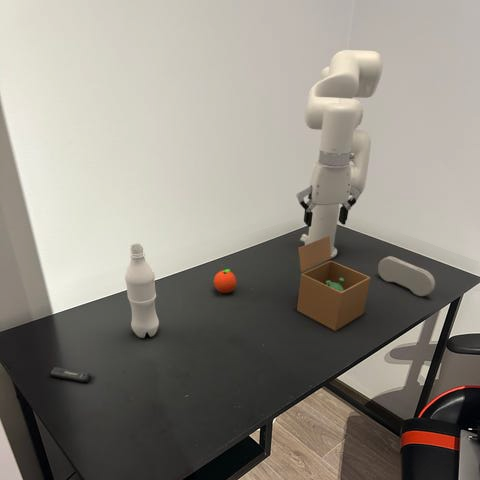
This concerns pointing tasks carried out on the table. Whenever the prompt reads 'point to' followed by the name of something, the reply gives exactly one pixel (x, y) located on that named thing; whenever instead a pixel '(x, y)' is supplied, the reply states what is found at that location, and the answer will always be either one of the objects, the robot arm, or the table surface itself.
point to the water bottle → (141, 293)
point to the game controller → (406, 275)
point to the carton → (332, 294)
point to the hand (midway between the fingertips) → (324, 223)
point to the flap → (314, 253)
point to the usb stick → (70, 374)
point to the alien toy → (335, 285)
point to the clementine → (225, 281)
